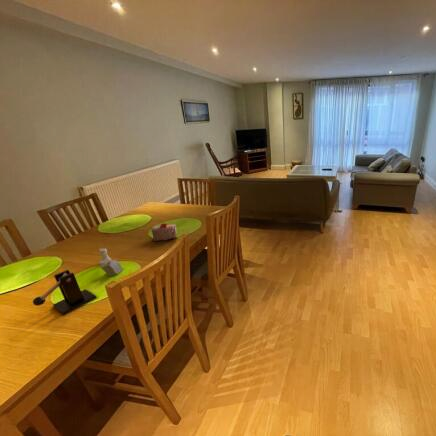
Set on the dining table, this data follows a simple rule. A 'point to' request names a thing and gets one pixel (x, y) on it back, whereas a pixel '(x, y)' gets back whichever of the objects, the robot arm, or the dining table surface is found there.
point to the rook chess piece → (104, 254)
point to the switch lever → (46, 294)
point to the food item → (164, 232)
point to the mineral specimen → (110, 267)
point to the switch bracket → (71, 293)
